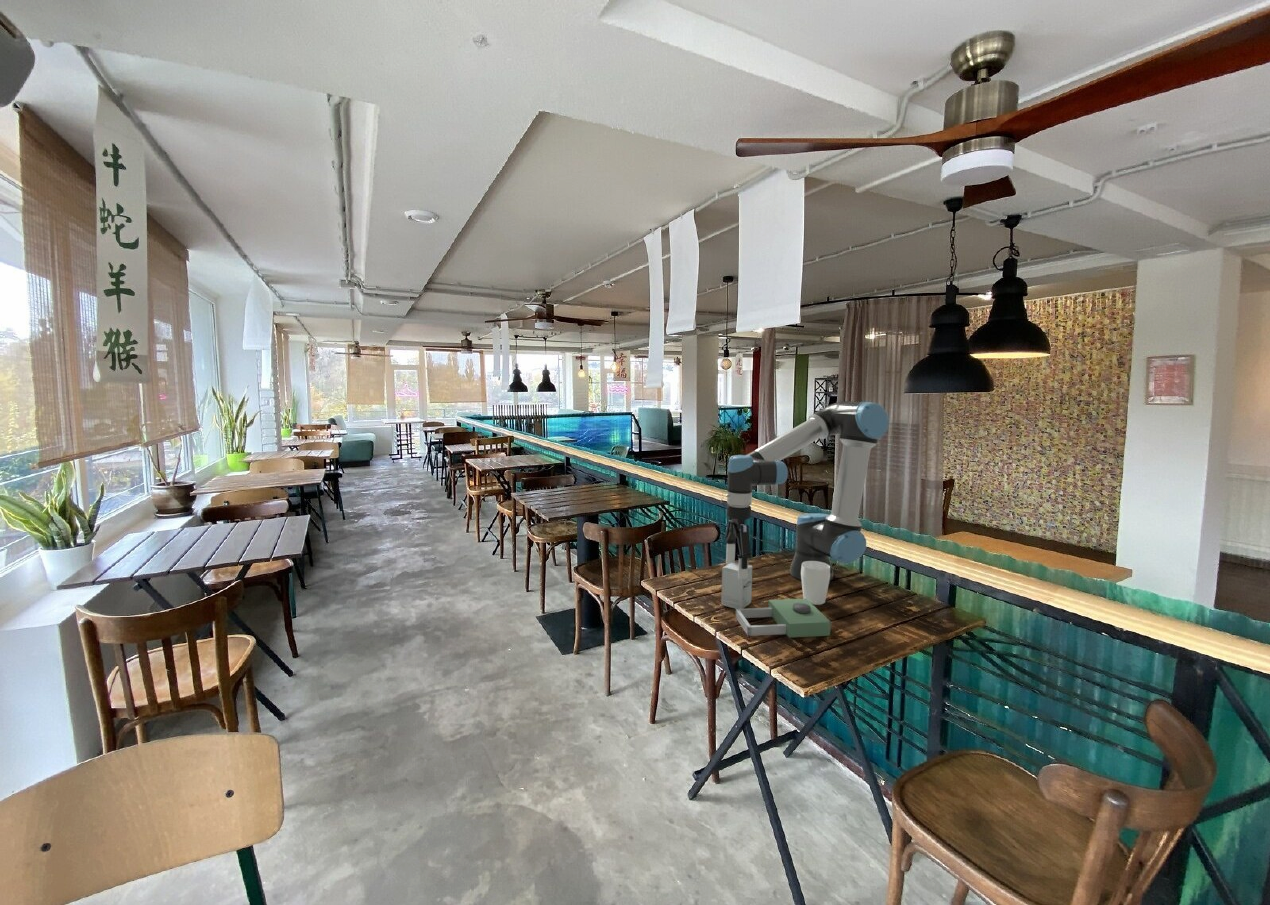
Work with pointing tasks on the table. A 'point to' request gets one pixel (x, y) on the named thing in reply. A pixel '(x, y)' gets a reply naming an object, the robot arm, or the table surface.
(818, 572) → the cup
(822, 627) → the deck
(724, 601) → the supplement box
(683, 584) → the table surface
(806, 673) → the table surface
